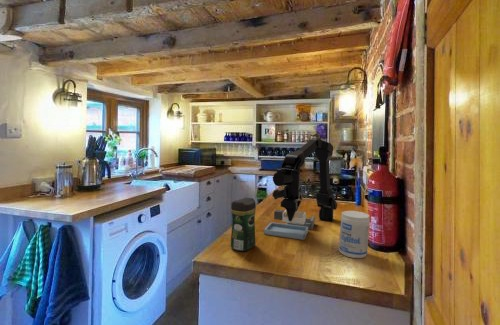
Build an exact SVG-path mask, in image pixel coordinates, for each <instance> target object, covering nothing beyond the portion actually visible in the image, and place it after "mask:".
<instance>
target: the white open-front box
mask: <svg viewBox="0 0 500 325" xmlns="http://www.w3.org/2000/svg"><path fill="white" fill-rule="evenodd" d="M273 213H274V214H273V215H274V216H273V219H274V220H276V221H277V220H278V221H282V224H287V223H291V224H299V225H304V223H305V221H306V218H307V216H306V215H307V211H300V210H297V211H296V212H295V218H293V219H292V221H289V219H288V217H287V211H286V209H285V210H283V209H282V210H281V209H275V210H274V211H273Z"/></svg>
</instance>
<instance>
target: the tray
mask: <svg viewBox="0 0 500 325" xmlns="http://www.w3.org/2000/svg"><path fill="white" fill-rule="evenodd" d="M308 232H309V229H308V227H304V226H297V225H289V224H287V223H280V222H270V223H268V224H267V226H265V228H264V229H263V234H264V235H268V236H275V237H281V238H288V239H295V240H302V241H304V240H305V239H306V237H307V235H308Z"/></svg>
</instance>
